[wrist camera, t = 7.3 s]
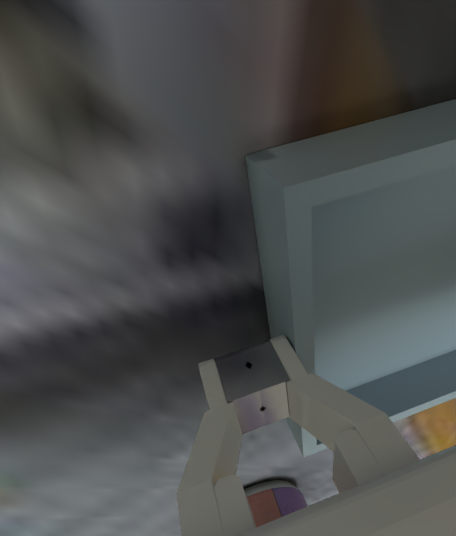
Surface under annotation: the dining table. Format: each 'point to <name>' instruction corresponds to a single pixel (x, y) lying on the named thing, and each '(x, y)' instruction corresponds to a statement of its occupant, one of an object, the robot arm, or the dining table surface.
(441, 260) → the grey-blue tray
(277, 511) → the beverage can
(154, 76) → the dining table surface
